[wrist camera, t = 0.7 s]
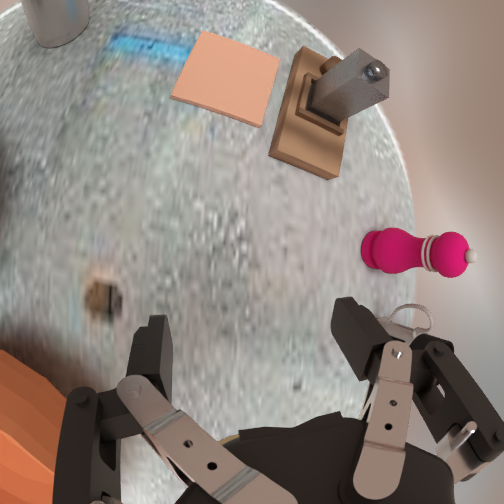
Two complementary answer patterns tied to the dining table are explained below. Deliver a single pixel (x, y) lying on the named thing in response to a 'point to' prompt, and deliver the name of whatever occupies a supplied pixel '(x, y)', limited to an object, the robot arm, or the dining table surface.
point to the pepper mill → (417, 252)
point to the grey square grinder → (349, 87)
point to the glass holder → (412, 331)
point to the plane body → (308, 121)
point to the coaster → (227, 78)
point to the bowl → (27, 433)
